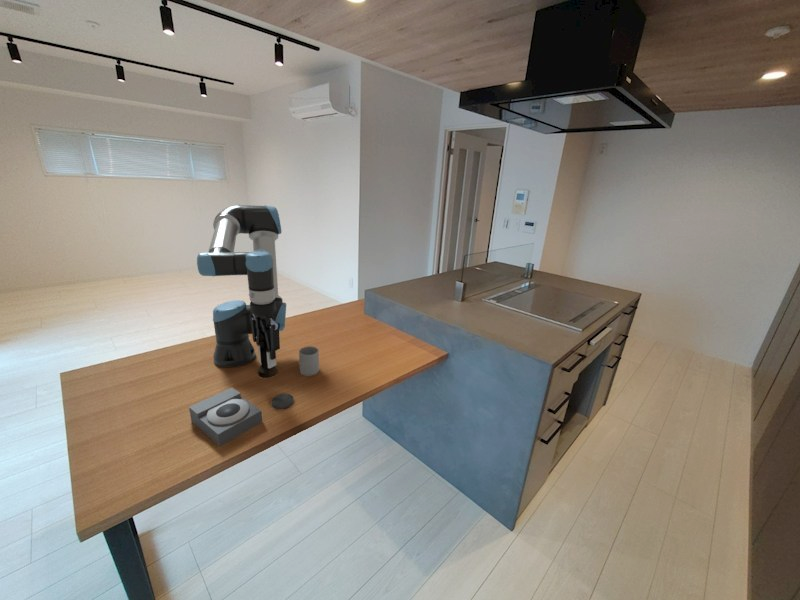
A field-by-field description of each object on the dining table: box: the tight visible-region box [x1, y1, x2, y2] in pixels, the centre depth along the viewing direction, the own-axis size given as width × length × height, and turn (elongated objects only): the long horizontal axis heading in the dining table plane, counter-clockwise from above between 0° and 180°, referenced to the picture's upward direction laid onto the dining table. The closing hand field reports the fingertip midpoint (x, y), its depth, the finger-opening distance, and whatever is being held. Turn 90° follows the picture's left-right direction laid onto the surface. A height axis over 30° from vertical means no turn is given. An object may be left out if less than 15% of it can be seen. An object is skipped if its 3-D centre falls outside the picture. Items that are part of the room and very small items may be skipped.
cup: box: [298, 345, 320, 377], centre depth 129 cm, size 7×10×9 cm
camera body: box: [188, 387, 263, 447], centre depth 100 cm, size 16×13×5 cm
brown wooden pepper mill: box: [257, 327, 279, 379], centre depth 113 cm, size 7×6×18 cm
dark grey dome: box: [270, 392, 295, 411], centre depth 110 cm, size 7×7×1 cm
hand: (267, 364), depth 115 cm, fingers closed on brown wooden pepper mill, 4 cm apart
